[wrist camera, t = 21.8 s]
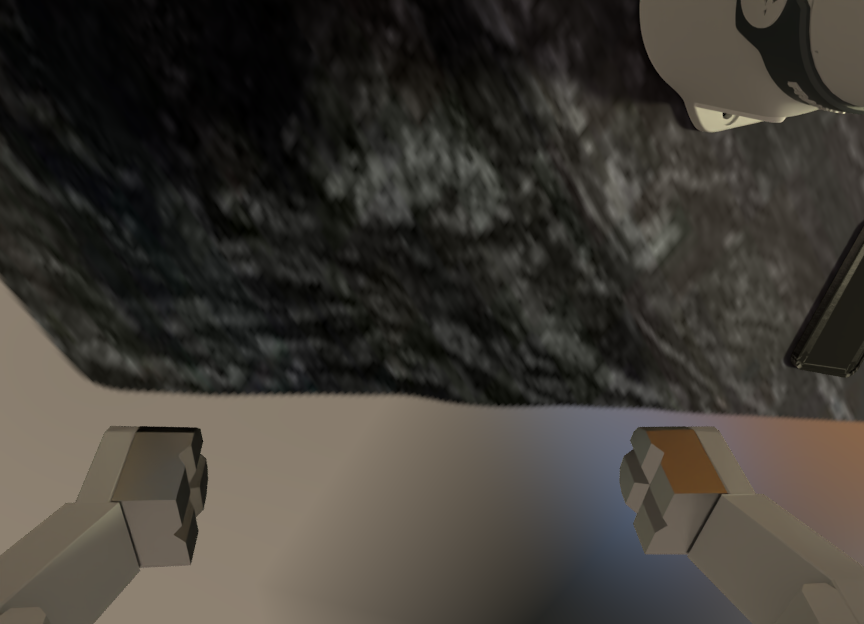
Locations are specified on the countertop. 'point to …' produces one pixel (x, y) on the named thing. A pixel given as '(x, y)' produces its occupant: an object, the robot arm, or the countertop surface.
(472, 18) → the countertop surface
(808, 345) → the phone
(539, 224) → the countertop surface
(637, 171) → the countertop surface
